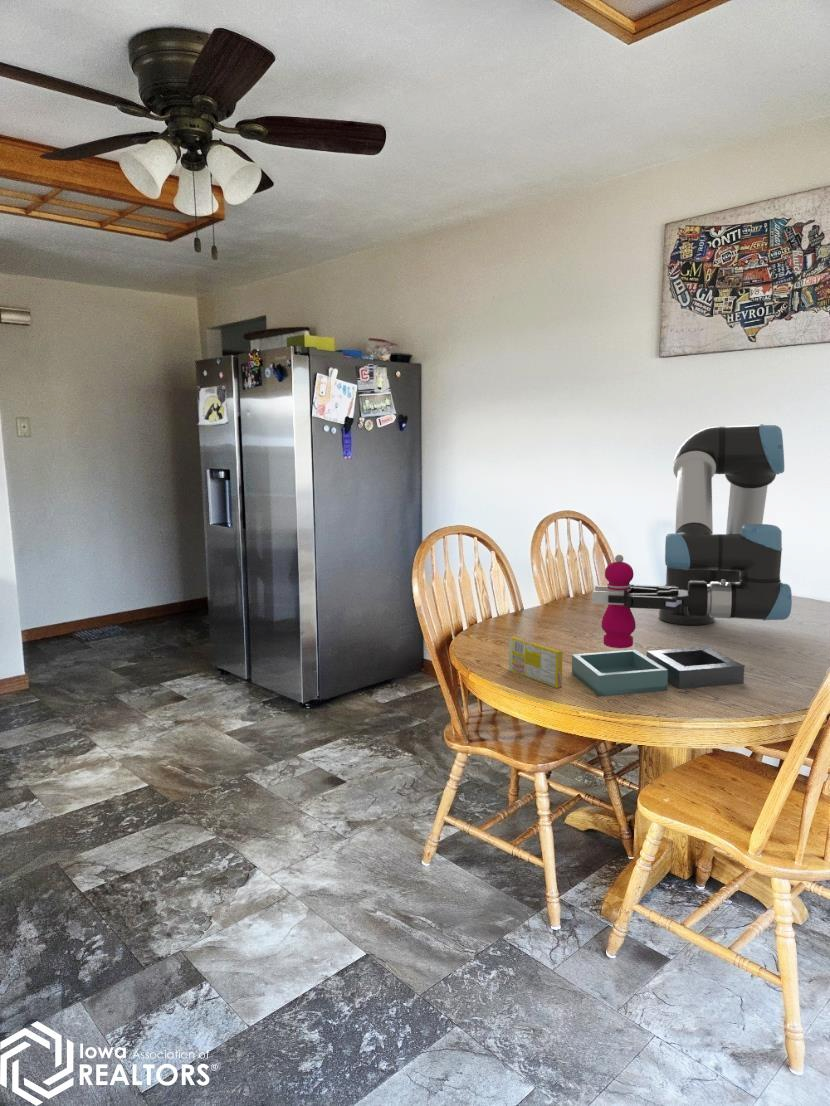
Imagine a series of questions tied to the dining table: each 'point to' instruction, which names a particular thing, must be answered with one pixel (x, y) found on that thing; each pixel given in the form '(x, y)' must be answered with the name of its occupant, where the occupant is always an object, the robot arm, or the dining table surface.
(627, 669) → the tray
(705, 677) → the bore block
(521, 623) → the dining table surface
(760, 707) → the dining table surface
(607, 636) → the pepper mill
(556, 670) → the candy box
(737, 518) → the robot arm
